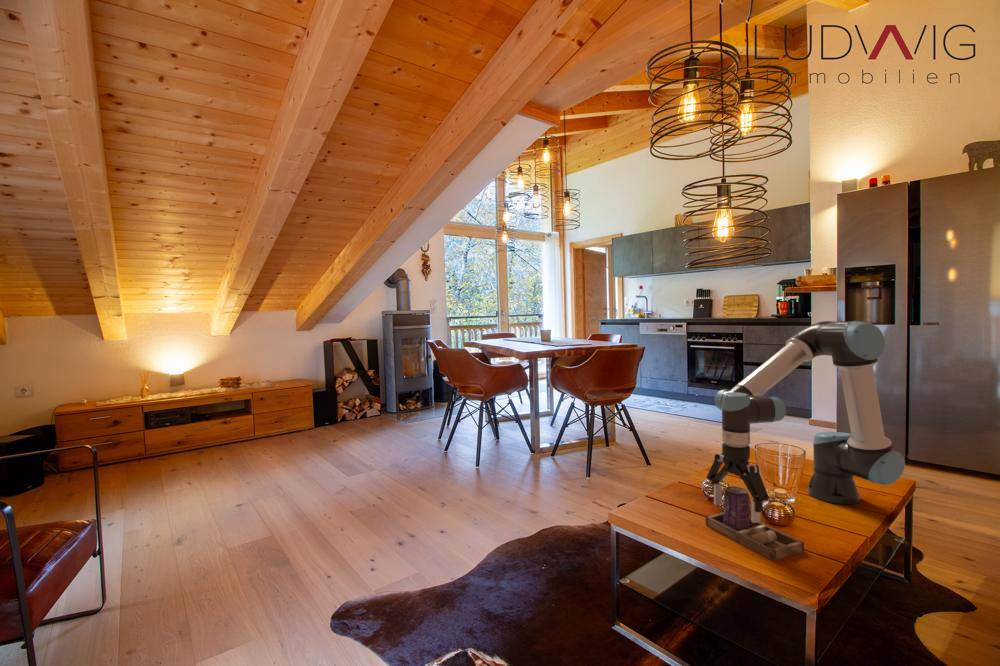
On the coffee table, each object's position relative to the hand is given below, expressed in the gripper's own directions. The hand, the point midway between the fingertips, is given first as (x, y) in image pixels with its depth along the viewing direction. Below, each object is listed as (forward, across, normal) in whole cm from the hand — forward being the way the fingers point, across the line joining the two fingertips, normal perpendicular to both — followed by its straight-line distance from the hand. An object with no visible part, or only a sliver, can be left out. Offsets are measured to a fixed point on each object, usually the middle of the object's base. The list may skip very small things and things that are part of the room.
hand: (735, 512), depth 140 cm
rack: (+6, +6, 0) cm, 8 cm away
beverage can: (+5, 0, 0) cm, 5 cm away
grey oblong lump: (+4, +11, 0) cm, 12 cm away
